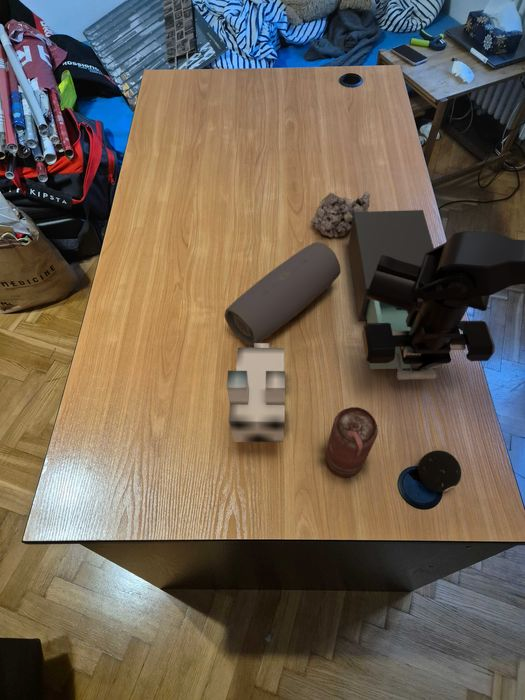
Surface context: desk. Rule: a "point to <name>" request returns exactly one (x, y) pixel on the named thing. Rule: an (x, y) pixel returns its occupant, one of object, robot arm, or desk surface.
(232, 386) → the toy llama
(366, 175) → the desk surface
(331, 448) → the can
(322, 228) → the mineral specimen
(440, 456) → the billiard ball
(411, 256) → the drawer box
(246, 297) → the bluetooth speaker
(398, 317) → the mint green drawer
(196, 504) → the desk surface
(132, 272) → the desk surface
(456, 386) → the desk surface
